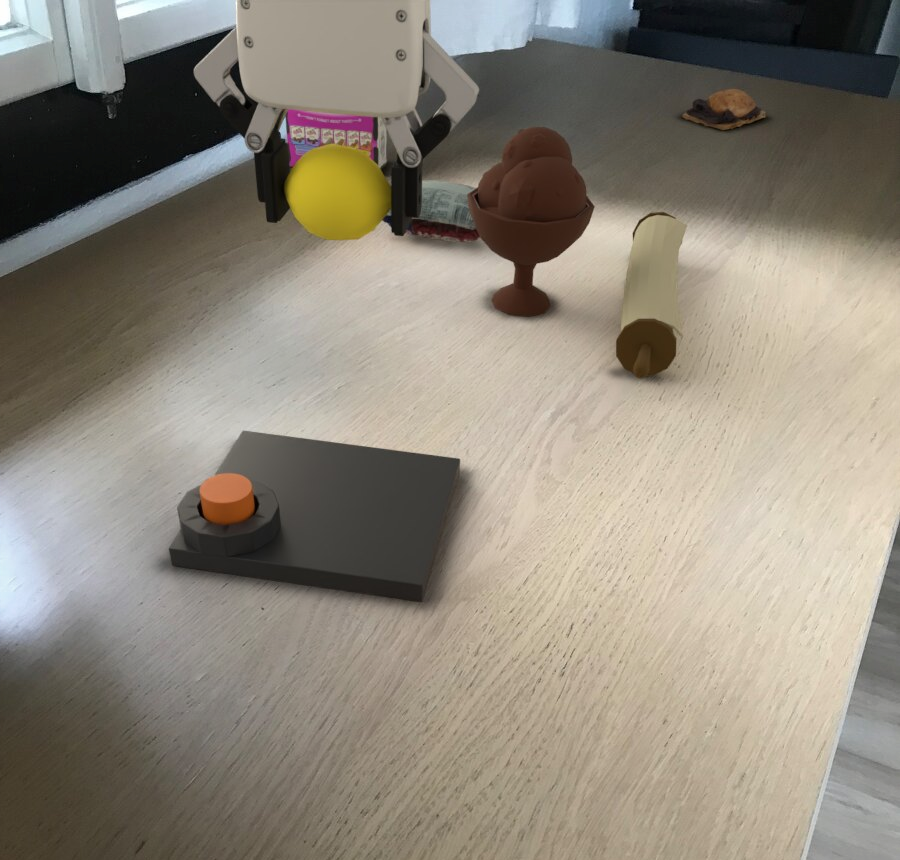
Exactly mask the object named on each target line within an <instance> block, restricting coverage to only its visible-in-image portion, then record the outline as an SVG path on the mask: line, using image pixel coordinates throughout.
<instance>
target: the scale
mask: <svg viewBox="0 0 900 860" xmlns="http://www.w3.org/2000/svg"><path fill="white" fill-rule="evenodd" d="M460 470H461V458H458V457H449V456H443V455H435V454H427V453H419V452H411V451H404V450H397V449H390V448H381V447H373V446H365V445H359V444H352V443H351V444H350V443H343V442H335V441H329V440H319V439H311V438H304V437H296V436H288V435H282V434H281V435H280V434H274V433H266V432H259V431H250V430H242V431H241V432H240V434H239V435H238V437H237V439H236V440H235V442H234V443H233V445H232V447H231V449H230V450H229V451H228V453H227V454H226V456H225V458H224V459H223V461H222V463H221V464H220V466H219V467H218V468H217V471H216V472H215V474H214V475H213V476H215V475H218V474H224V473H233V474H239V475H242V476H244V477H246V478H247V479H249V480H250V482H251V484H252V488H253V497H254V505H255V510H254V513H253V515H252V516H251V517H250V518H248V519H247V520H245V521H243V522H239V523H234V524H228V525H223V524H216V523H211V522H209V521H208V520H207V519H206V518H205V517H204V515H203V510H202V504H201V497H200V486H201V484H199V485H198V486H195V487H194V488H192V489H190V490H188V491H187V492H186V493H185V494H184V496H183V497H182V499H181V500H180V502H179V503H178V505H177V507H176V509H177V514H178V515H177V516H178V520H179V526H180V529H179V531H178V533H177V534H176V536H175V538H174V539H173V541H172V542H171V544H170V546H169V548H168V552H169V557H170V562H171V566H174V567H180V568H188V569H195V570H201V571H209V572H214V573H221V574H229V575H236V576H242V577H249V578H255V579H261V580H262V579H263V580H269V581H277V582H282V583H283V582H285V583H288V584H289V583H290V584H297V585H303V586H309V587H310V586H311V587H317V588H325V589H332V590H337V591H338V590H339V591H344V592H353V593H359V594H366V595H371V596H372V595H373V596H380V597H386V598H393V599H400V600H406V601H413V602H423V599H424V596H425V593H426V589H427V586H428V582H429V579H430V576H431V572H432V569H433V566H434V563H435V559H436V555H437V552H438V549H439V545H440V542H441V538H442V535H443V532H444V528H445V525H446V521H447V518H448V514H449V511H450V508H451V504H452V501H453V498H454V495H455V492H456V491H455V490H456V488H457V484H458V481H459V478H460V473H461V471H460Z"/></svg>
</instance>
